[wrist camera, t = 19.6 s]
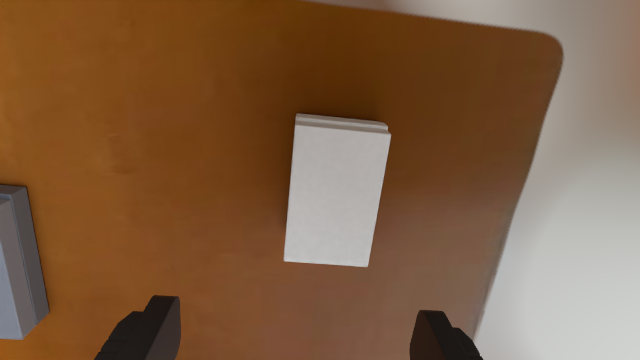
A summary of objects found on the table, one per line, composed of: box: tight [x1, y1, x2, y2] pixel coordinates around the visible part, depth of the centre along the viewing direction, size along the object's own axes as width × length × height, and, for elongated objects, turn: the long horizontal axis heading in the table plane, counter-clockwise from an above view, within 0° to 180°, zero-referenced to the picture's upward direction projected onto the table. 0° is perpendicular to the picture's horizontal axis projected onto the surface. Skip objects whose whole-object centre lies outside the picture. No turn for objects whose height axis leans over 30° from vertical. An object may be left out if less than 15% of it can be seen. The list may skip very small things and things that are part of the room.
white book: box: [284, 121, 391, 267], centre depth 25 cm, size 10×6×2 cm, turn 174°
